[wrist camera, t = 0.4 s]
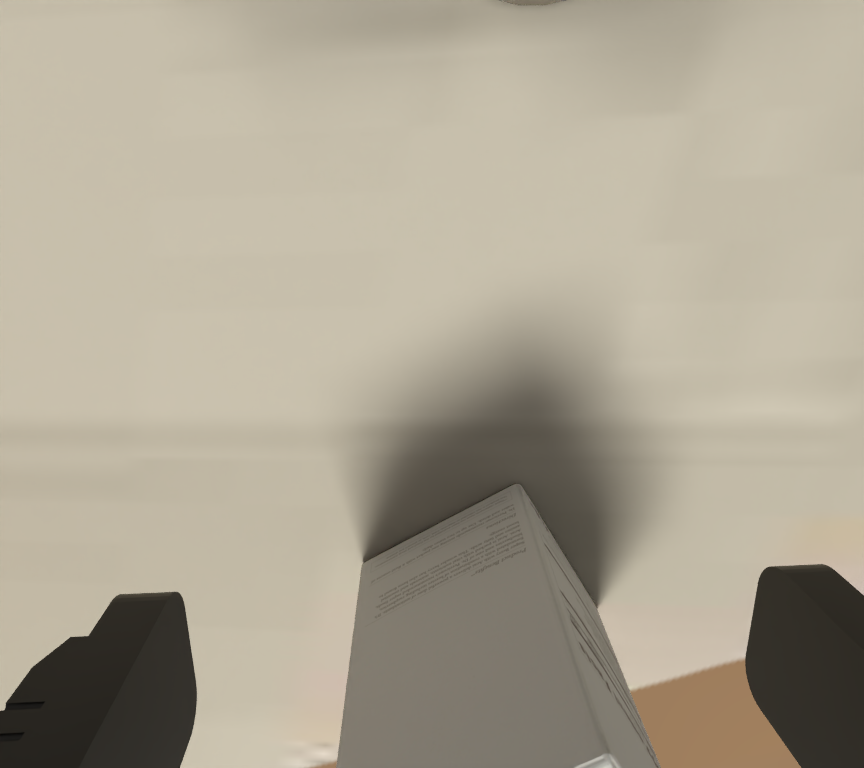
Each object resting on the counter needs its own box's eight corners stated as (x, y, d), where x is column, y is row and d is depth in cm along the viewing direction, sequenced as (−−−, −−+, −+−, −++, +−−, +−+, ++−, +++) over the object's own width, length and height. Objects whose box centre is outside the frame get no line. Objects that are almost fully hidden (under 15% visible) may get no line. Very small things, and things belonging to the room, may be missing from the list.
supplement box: (448, 685, 34) (468, 1059, 20) (357, 561, 31) (306, 889, 17) (603, 612, 33) (743, 958, 18) (522, 476, 30) (613, 758, 16)
